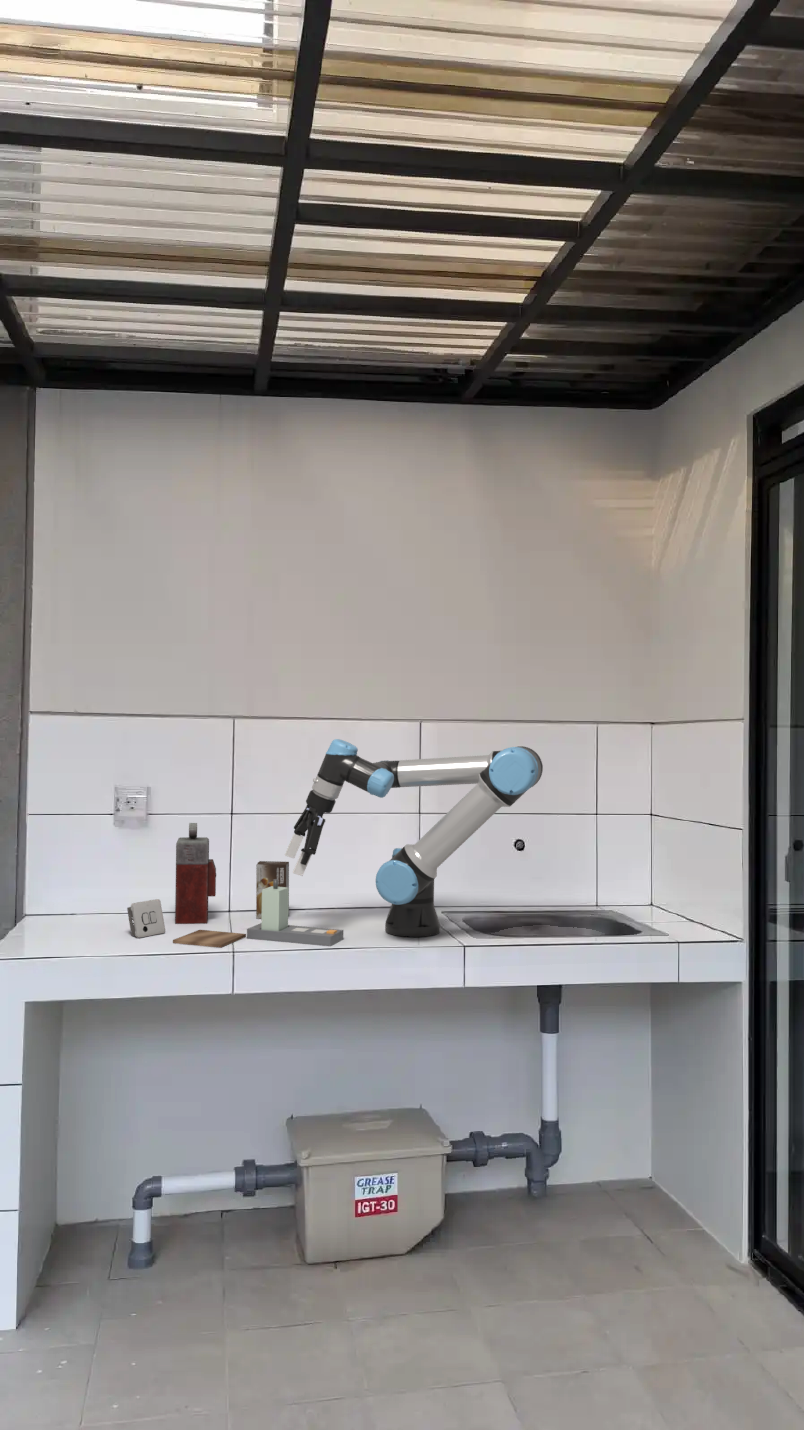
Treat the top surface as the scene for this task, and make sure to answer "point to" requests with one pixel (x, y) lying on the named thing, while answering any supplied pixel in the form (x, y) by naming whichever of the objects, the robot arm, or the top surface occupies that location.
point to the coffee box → (270, 880)
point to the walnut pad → (209, 938)
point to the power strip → (298, 935)
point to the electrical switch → (146, 918)
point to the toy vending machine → (193, 878)
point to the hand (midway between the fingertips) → (293, 865)
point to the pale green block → (275, 907)
